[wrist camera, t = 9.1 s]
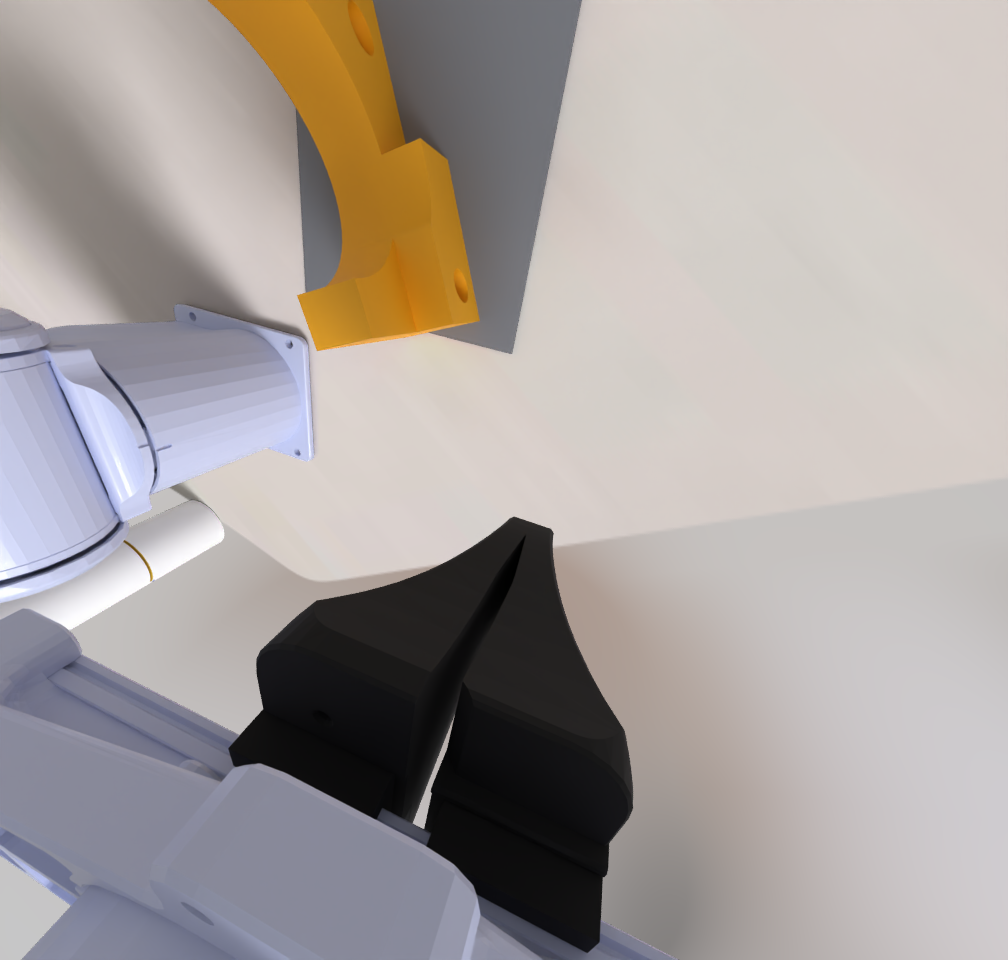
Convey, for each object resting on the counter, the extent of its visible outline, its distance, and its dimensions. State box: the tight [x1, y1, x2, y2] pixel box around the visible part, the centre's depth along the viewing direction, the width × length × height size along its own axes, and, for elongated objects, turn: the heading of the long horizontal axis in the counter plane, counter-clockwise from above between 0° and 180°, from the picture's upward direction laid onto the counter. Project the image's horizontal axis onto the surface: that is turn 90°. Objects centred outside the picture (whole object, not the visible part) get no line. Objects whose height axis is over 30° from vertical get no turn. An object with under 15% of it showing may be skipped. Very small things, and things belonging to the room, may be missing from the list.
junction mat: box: [296, 0, 582, 354], centre depth 16 cm, size 12×16×1 cm
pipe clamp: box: [208, 0, 480, 351], centre depth 14 cm, size 12×4×6 cm, turn 11°
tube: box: [0, 500, 224, 630], centre depth 26 cm, size 4×4×15 cm
